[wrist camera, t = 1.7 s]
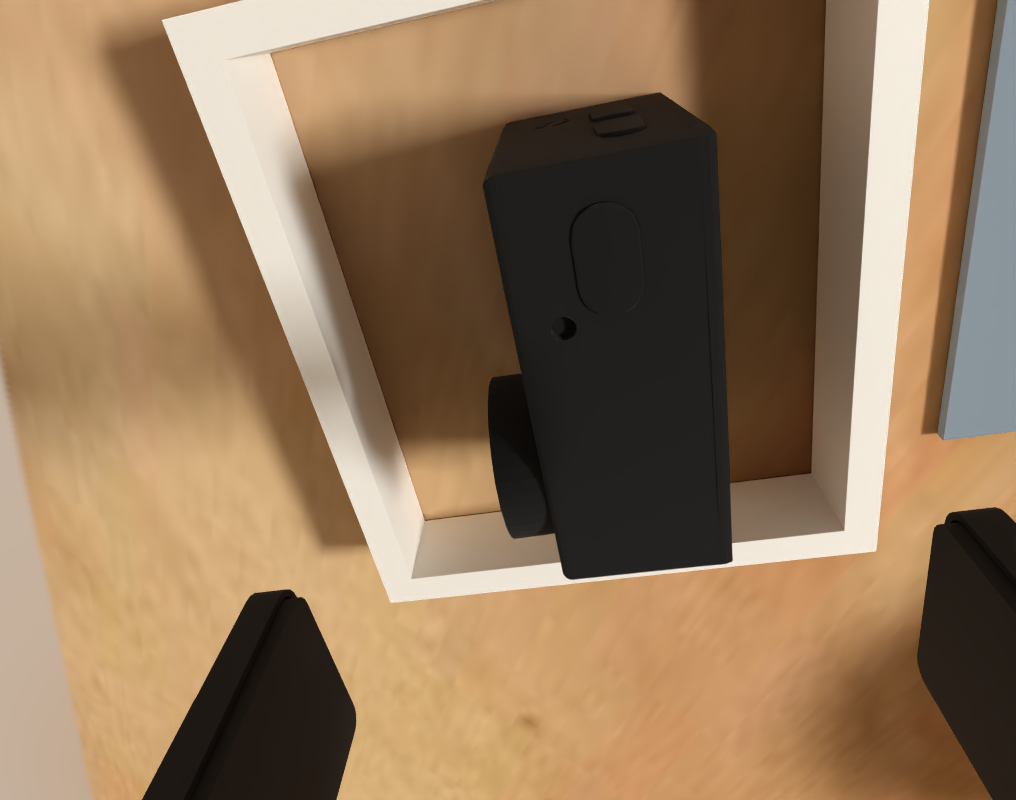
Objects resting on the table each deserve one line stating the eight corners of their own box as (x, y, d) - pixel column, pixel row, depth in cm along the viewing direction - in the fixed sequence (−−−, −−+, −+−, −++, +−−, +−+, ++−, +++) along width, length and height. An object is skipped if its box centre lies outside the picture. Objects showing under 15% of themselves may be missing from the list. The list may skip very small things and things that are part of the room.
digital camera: (459, 127, 18) (415, 184, 12) (659, 86, 18) (717, 127, 12) (526, 440, 23) (519, 589, 17) (684, 418, 23) (734, 567, 17)
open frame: (219, 18, 17) (161, 19, 15) (876, -141, 15) (945, -173, 12) (406, 543, 26) (390, 602, 23) (839, 492, 24) (876, 551, 21)
